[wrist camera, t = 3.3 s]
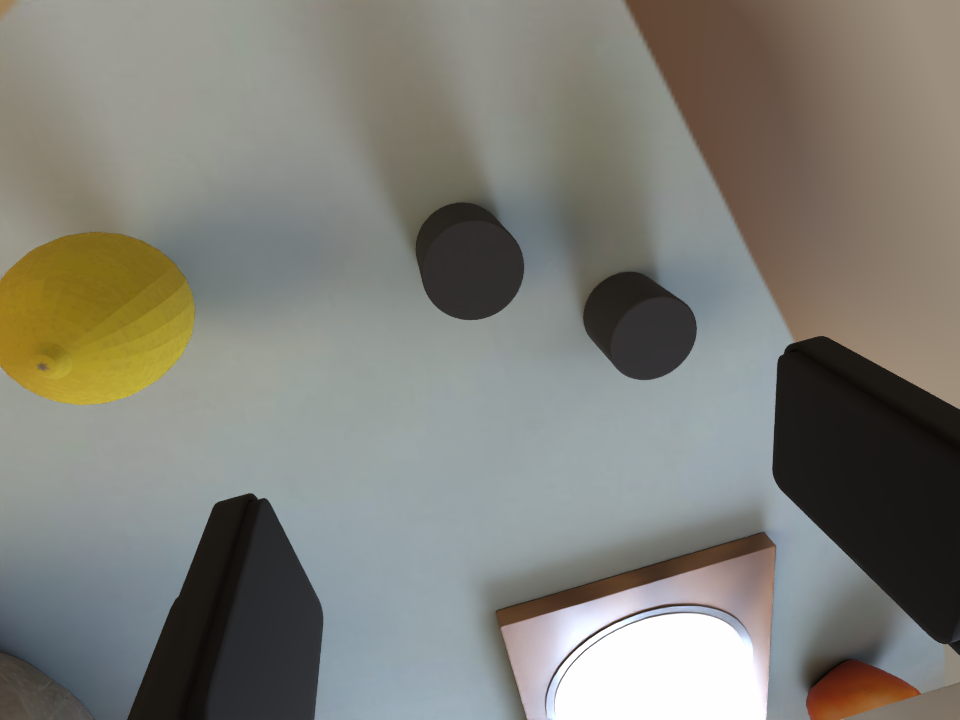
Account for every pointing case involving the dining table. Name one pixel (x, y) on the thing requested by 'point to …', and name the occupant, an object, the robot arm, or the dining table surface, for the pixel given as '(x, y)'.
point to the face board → (651, 641)
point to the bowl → (34, 694)
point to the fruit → (855, 691)
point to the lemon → (93, 318)
